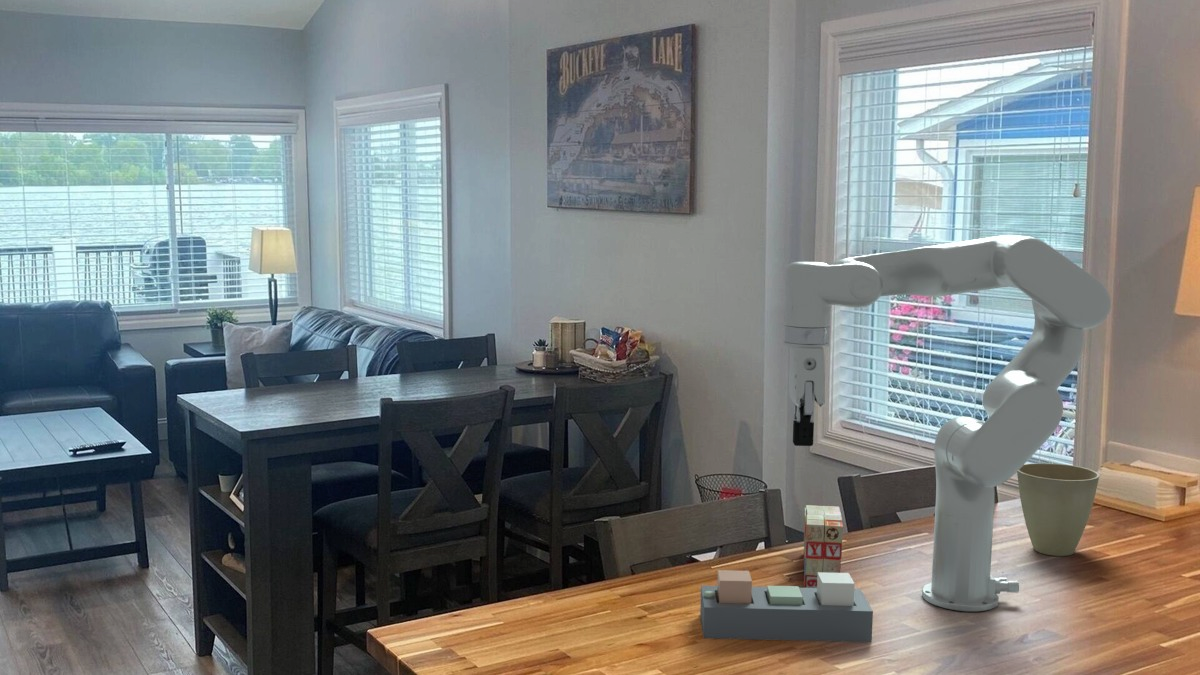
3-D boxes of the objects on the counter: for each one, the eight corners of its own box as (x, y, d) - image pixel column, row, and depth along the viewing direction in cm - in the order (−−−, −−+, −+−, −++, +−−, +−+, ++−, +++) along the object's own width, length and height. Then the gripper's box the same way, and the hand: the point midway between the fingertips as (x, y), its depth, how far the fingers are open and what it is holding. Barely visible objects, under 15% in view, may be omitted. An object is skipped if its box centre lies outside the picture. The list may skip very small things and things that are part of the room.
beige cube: (748, 600, 186) (748, 570, 185) (751, 611, 181) (751, 581, 180) (717, 600, 186) (717, 570, 185) (719, 611, 181) (719, 580, 180)
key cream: (847, 602, 185) (848, 573, 185) (853, 614, 180) (854, 583, 180) (816, 602, 185) (817, 572, 185) (821, 613, 180) (822, 582, 180)
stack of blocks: (802, 553, 222) (804, 491, 220) (835, 555, 221) (838, 493, 219) (804, 591, 201) (806, 523, 199) (840, 593, 200) (843, 525, 198)
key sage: (797, 616, 186) (798, 586, 185) (801, 627, 181) (802, 597, 180) (766, 615, 186) (767, 585, 185) (769, 626, 181) (770, 596, 180)
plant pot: (1100, 547, 227) (1105, 468, 225) (1086, 567, 215) (1091, 484, 213) (1021, 534, 235) (1026, 458, 233) (1004, 553, 223) (1008, 473, 221)
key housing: (859, 618, 188) (860, 585, 187) (871, 642, 178) (873, 607, 177) (700, 614, 189) (701, 581, 188) (703, 638, 179) (704, 603, 178)
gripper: (836, 342, 183) (832, 455, 185) (822, 331, 198) (818, 435, 200) (789, 342, 183) (786, 454, 186) (778, 330, 198) (775, 435, 200)
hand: (802, 444), depth 193 cm, fingers closed
